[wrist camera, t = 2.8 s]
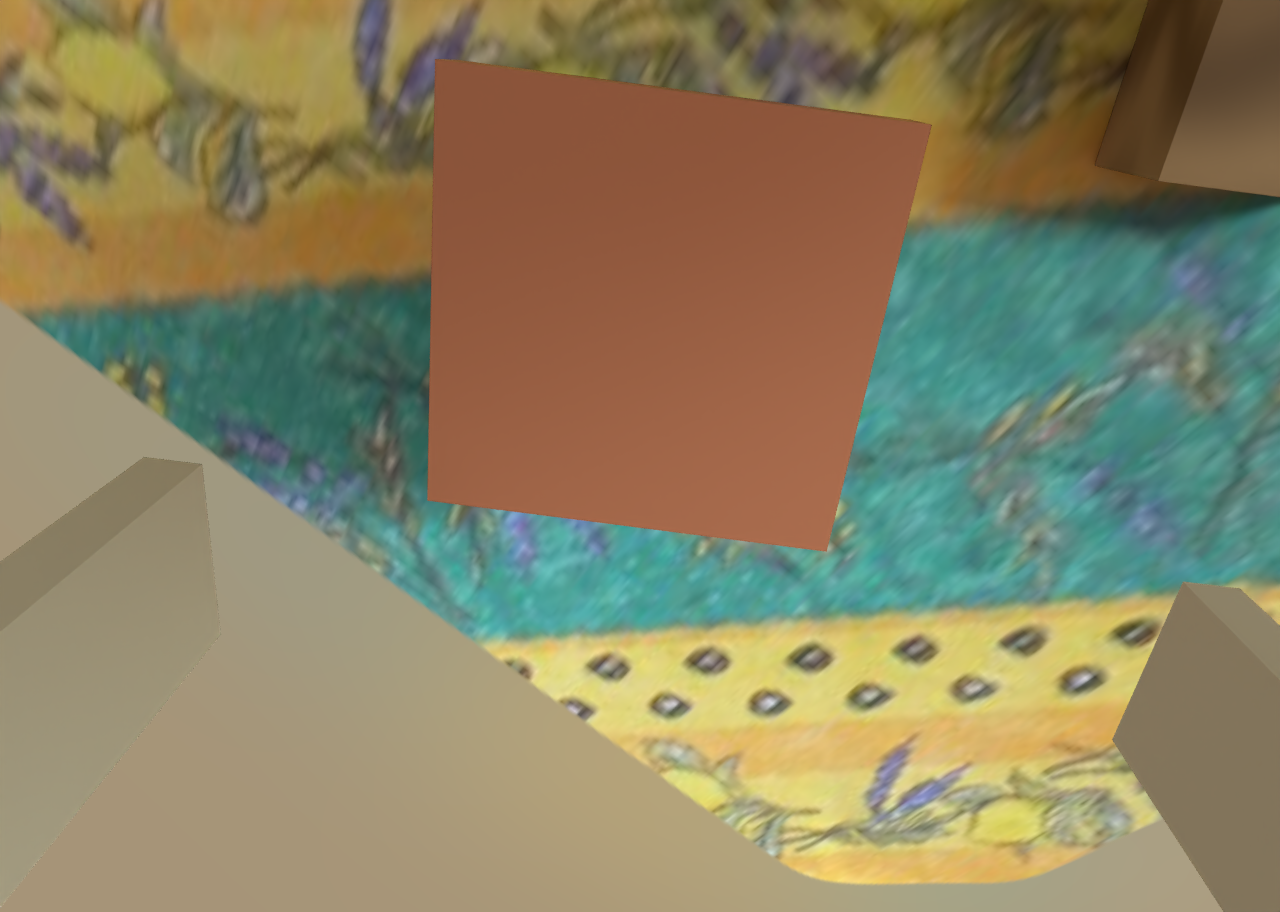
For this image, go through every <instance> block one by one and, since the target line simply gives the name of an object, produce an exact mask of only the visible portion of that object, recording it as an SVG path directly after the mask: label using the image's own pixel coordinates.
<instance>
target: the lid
mask: <svg viewBox="0 0 1280 912" xmlns="http://www.w3.org/2000/svg"><path fill="white" fill-rule="evenodd" d="M931 126H932V125H930V124H926V123H922V122H917V121H913V120H907V119H899V118H892V117H884V116H877V115H869V114H862V113H854V112H847V111H839V110H831V109H824V108H816V107H809V106H801V105H794V104H786V103H779V102H771V101H763V100H756V99H748V98H741V97H733V96H726V95H718V94H711V93H703V92H695V91H688V90H680V89H673V88H665V87H658V86H650V85H643V84H635V83H627V82H620V81H612V80H605V79H597V78H590V77H582V76H575V75H567V74H559V73H552V72H544V71H537V70H529V69H522V68H514V67H507V66H499V65H491V64H484V63H476V62H469V61H461V60H446V59H435V102H434V158H433V215H432V272H431V329H430V386H429V443H428V501H435V502H443V503H451V504H459V505H467V506H475V507H482V508H490V509H498V510H506V511H514V512H521V513H529V514H537V515H545V516H553V517H561V518H568V519H576V520H584V521H592V522H600V523H607V524H615V525H623V526H631V527H639V528H647V529H654V530H662V531H670V532H678V533H686V534H693V535H701V536H709V537H717V538H725V539H733V540H740V541H748V542H756V543H764V544H772V545H779V546H787V547H795V548H803V549H811V550H819V551H827V547H828V543H829V539H830V535H831V531H832V527H833V523H834V519H835V515H836V511H837V507H838V503H839V499H840V495H841V490H842V486H843V482H844V478H845V474H846V470H847V466H848V462H849V458H850V454H851V450H852V446H853V442H854V438H855V434H856V430H857V426H858V422H859V417H860V413H861V409H862V405H863V401H864V397H865V393H866V389H867V385H868V381H869V377H870V373H871V369H872V365H873V361H874V357H875V353H876V349H877V344H878V340H879V336H880V332H881V328H882V324H883V320H884V316H885V312H886V308H887V304H888V300H889V296H890V292H891V288H892V284H893V280H894V276H895V272H896V267H897V263H898V259H899V255H900V251H901V247H902V243H903V239H904V235H905V231H906V227H907V223H908V219H909V215H910V211H911V207H912V203H913V199H914V194H915V190H916V186H917V182H918V178H919V174H920V170H921V166H922V162H923V158H924V154H925V150H926V146H927V142H928V138H929V134H930V130H931Z"/></svg>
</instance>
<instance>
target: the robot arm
mask: <svg viewBox="0 0 1280 912" xmlns="http://www.w3.org/2000/svg"><path fill="white" fill-rule="evenodd" d="M220 635H221V632H220V622H219V613H218V604H217V595H216V586H215V577H214V568H213V559H212V550H211V541H210V532H209V523H208V514H207V505H206V496H205V487H204V479H203V469H202V464H196V463H188V462H180V461H171V460H164V459H154V458H147V457H144V458H142V459H141V460H140V461H138V462H137V463H135V464H134V465H133V466H131V467H130V468H129V469H127V470H126V471H124V472H123V473H122V474H120V475H119V476H118V477H116V478H115V479H113V480H112V481H111V482H110V483H108V484H106V485H105V486H104V487H102V488H101V489H100V490H98V491H97V492H95V493H94V494H93V495H92V496H90V497H89V498H87V499H86V500H84V501H83V502H82V503H80V504H79V505H78V506H76V507H75V508H73V509H72V510H71V511H69V512H68V513H67V514H65V515H64V516H62V517H61V518H60V519H58V520H57V521H56V522H54V523H53V524H52V525H50V526H49V527H48V528H46V529H45V530H43V531H42V532H41V533H39V534H38V535H36V536H35V537H34V538H32V539H31V540H29V541H28V542H27V543H25V544H24V545H23V546H21V547H20V548H19V549H17V550H16V551H14V552H13V553H12V554H10V555H9V556H7V557H6V558H5V559H3V560H2V561H1V562H0V907H1V906H2V905H3V904H4V903H5V901H6V900H7V899H8V898H9V896H10V895H11V894H12V893H13V891H14V890H15V889H16V888H17V886H18V885H19V884H20V883H21V881H22V880H23V879H24V878H25V876H26V875H27V874H28V873H29V872H30V870H31V869H32V868H33V867H34V865H35V864H36V863H37V862H38V860H39V859H40V858H41V856H42V855H43V854H44V853H45V852H46V851H47V849H48V848H49V847H50V846H51V844H52V843H53V842H54V841H55V839H56V838H57V837H58V836H59V834H60V833H61V832H62V831H63V829H64V828H65V827H66V826H67V824H68V823H69V822H70V821H71V820H72V818H73V817H74V816H75V815H76V813H77V812H78V811H79V810H80V808H81V807H82V806H83V805H84V803H85V802H86V801H87V800H88V799H89V797H90V796H91V795H92V793H93V792H94V791H95V790H96V788H97V787H98V786H99V785H100V784H101V782H102V781H103V780H104V779H105V777H106V776H107V775H108V774H109V772H110V771H111V770H112V769H113V768H114V766H115V765H116V764H117V763H118V761H119V760H120V759H121V758H122V756H123V755H124V754H125V753H126V751H127V750H128V749H129V748H130V746H131V745H132V744H133V743H134V741H135V740H136V739H137V737H139V735H140V734H141V733H142V732H143V730H144V729H145V728H146V726H147V725H148V724H149V723H150V722H151V721H152V719H153V718H154V717H155V716H156V714H157V713H158V712H159V711H160V709H161V708H162V707H163V706H164V704H165V703H166V702H167V701H168V699H169V698H170V697H171V696H172V695H173V693H174V692H175V691H176V690H177V688H178V687H179V686H180V685H181V683H182V682H183V681H184V680H185V678H186V677H187V676H188V675H189V674H190V672H191V671H192V670H193V669H194V667H195V666H196V665H197V664H198V662H199V661H200V660H201V659H202V657H203V656H204V655H205V654H206V652H207V651H208V650H209V648H210V647H211V646H212V645H213V644H214V643H215V641H216V640H217V639H218V638H219V636H220ZM1112 740H1113V742H1114V743H1115V745H1116V746H1117V748H1118V749H1119V751H1120V752H1121V754H1122V755H1123V757H1124V759H1125V760H1126V762H1127V763H1128V765H1129V766H1130V768H1131V769H1132V771H1133V772H1134V774H1135V776H1136V777H1137V779H1138V780H1139V782H1140V783H1141V785H1142V786H1143V788H1144V789H1145V791H1146V793H1147V794H1148V796H1149V797H1150V799H1151V800H1152V802H1153V803H1154V805H1155V806H1156V808H1157V810H1158V811H1159V813H1160V814H1161V816H1162V817H1163V819H1164V820H1165V822H1166V823H1167V825H1168V826H1169V828H1170V830H1171V831H1172V833H1173V834H1174V836H1175V837H1176V839H1177V840H1178V842H1179V843H1180V845H1181V846H1182V848H1183V850H1184V851H1185V853H1186V854H1187V856H1188V857H1189V859H1190V861H1191V862H1192V864H1193V865H1194V867H1195V868H1196V870H1197V871H1198V873H1199V875H1200V876H1201V877H1202V879H1203V881H1204V882H1205V884H1206V885H1207V887H1208V888H1209V890H1210V891H1211V893H1212V895H1213V896H1214V898H1215V899H1216V901H1217V902H1218V904H1219V905H1220V907H1221V908H1222V910H1223V912H1280V625H1278V624H1277V623H1276V622H1275V621H1274V620H1273V619H1272V618H1271V617H1270V616H1269V615H1268V614H1267V613H1266V612H1264V611H1263V610H1262V609H1261V608H1260V607H1259V606H1258V605H1257V604H1256V603H1255V602H1254V601H1253V600H1251V599H1250V598H1249V597H1248V596H1247V595H1246V594H1245V593H1244V592H1243V591H1242V590H1241V589H1239V588H1231V587H1222V586H1214V585H1206V584H1197V583H1189V582H1183V583H1182V585H1181V588H1180V590H1179V592H1178V594H1177V597H1176V599H1175V601H1174V603H1173V606H1172V608H1171V610H1170V612H1169V614H1168V617H1167V619H1166V621H1165V623H1164V626H1163V628H1162V630H1161V632H1160V635H1159V637H1158V639H1157V641H1156V643H1155V646H1154V648H1153V650H1152V652H1151V655H1150V657H1149V659H1148V661H1147V664H1146V666H1145V668H1144V670H1143V672H1142V675H1141V677H1140V679H1139V681H1138V684H1137V686H1136V688H1135V690H1134V692H1133V695H1132V697H1131V699H1130V701H1129V704H1128V706H1127V708H1126V710H1125V713H1124V715H1123V717H1122V719H1121V721H1120V724H1119V726H1118V728H1117V730H1116V733H1115V735H1114V737H1113V739H1112Z"/></svg>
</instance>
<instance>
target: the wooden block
mask: <svg viewBox="0 0 1280 912" xmlns="http://www.w3.org/2000/svg"><path fill="white" fill-rule="evenodd" d="M1095 166H1098V167H1102V168H1107V169H1111V170H1115V171H1119V172H1123V173H1127V174H1131V175H1136V176H1140V177H1144V178H1148V179H1152V180H1156V181H1162V182H1170V183H1178V184H1185V185H1193V186H1200V187H1208V188H1215V189H1223V190H1231V191H1238V192H1246V193H1253V194H1261V195H1268V196H1276V197H1280V0H1149V1H1148V5H1147V8H1146V11H1145V14H1144V17H1143V20H1142V23H1141V26H1140V29H1139V32H1138V35H1137V38H1136V41H1135V44H1134V47H1133V50H1132V53H1131V56H1130V59H1129V62H1128V66H1127V69H1126V72H1125V75H1124V78H1123V81H1122V84H1121V87H1120V90H1119V93H1118V96H1117V99H1116V102H1115V105H1114V108H1113V111H1112V114H1111V117H1110V120H1109V123H1108V127H1107V130H1106V133H1105V136H1104V139H1103V142H1102V145H1101V148H1100V151H1099V154H1098V157H1097V160H1096V163H1095Z"/></svg>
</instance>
